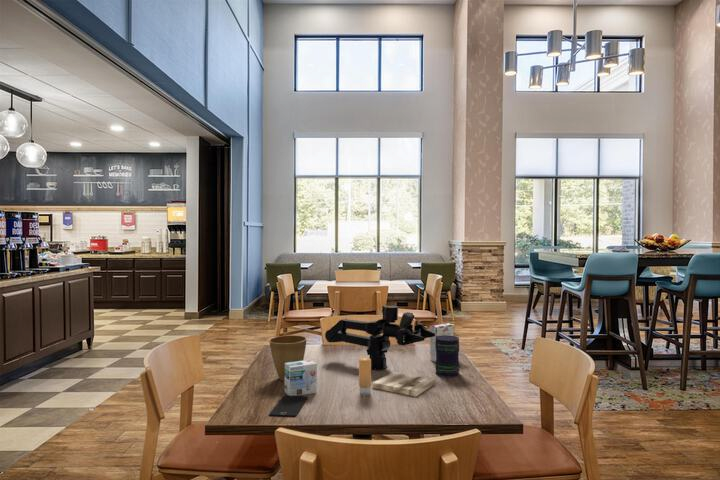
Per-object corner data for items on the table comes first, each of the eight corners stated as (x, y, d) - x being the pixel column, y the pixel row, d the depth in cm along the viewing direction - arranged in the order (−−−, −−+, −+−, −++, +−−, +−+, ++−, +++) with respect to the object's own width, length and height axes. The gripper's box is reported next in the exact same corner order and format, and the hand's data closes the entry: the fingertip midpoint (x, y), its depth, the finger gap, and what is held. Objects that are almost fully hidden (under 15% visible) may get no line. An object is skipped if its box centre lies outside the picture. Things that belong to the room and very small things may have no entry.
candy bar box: (448, 357, 216) (447, 322, 216) (455, 359, 212) (455, 324, 212) (429, 360, 211) (429, 325, 211) (436, 363, 206) (436, 326, 206)
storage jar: (430, 371, 193) (430, 336, 193) (450, 369, 196) (450, 334, 196) (443, 378, 183) (443, 341, 183) (464, 375, 187) (464, 339, 187)
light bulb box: (289, 397, 162) (289, 367, 162) (283, 391, 168) (283, 362, 168) (317, 392, 167) (317, 363, 167) (311, 387, 173) (310, 359, 173)
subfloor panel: (372, 387, 172) (372, 382, 172) (392, 377, 186) (392, 371, 186) (415, 396, 162) (415, 390, 162) (434, 384, 176) (434, 379, 176)
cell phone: (268, 417, 145) (268, 414, 145) (283, 397, 163) (283, 395, 163) (295, 418, 144) (295, 415, 144) (308, 398, 162) (308, 395, 162)
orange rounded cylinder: (356, 394, 165) (356, 359, 165) (363, 390, 169) (363, 357, 169) (367, 396, 163) (366, 361, 163) (373, 393, 166) (373, 358, 166)
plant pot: (285, 371, 194) (285, 333, 194) (314, 376, 187) (313, 337, 187) (261, 380, 181) (261, 340, 181) (291, 386, 174) (290, 344, 174)
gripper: (385, 315, 185) (419, 320, 176) (408, 309, 200) (440, 313, 191) (384, 342, 185) (418, 349, 176) (407, 334, 201) (439, 340, 192)
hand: (429, 336), depth 184 cm, fingers open, 9 cm apart
